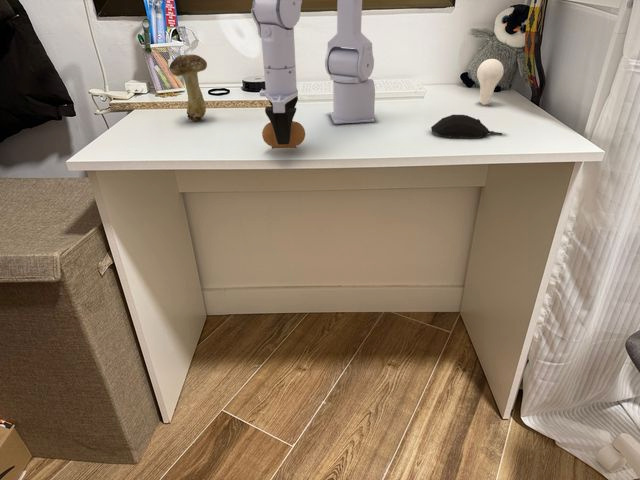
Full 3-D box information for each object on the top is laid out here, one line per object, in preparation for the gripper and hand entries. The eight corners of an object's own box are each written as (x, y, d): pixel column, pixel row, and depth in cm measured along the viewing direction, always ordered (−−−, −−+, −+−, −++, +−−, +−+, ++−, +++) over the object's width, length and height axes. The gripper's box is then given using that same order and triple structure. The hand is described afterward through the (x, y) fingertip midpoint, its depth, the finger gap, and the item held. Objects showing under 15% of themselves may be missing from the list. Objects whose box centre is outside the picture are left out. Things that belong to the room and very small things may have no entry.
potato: (306, 141, 89) (305, 116, 86) (305, 149, 85) (304, 124, 82) (264, 141, 89) (262, 117, 86) (262, 150, 85) (259, 125, 82)
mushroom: (206, 127, 101) (195, 58, 93) (171, 125, 103) (157, 57, 94) (222, 115, 109) (212, 50, 101) (189, 114, 110) (178, 49, 102)
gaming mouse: (505, 139, 91) (509, 120, 88) (432, 138, 92) (434, 119, 90) (498, 129, 96) (502, 111, 94) (429, 128, 97) (431, 110, 95)
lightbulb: (500, 108, 109) (509, 61, 103) (475, 108, 109) (483, 61, 103) (492, 101, 114) (501, 56, 108) (468, 101, 114) (476, 56, 108)
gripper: (261, 58, 85) (267, 127, 92) (252, 75, 73) (259, 153, 80) (298, 57, 85) (301, 126, 92) (294, 74, 73) (298, 152, 80)
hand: (284, 138), depth 86 cm, fingers closed on potato, 5 cm apart
